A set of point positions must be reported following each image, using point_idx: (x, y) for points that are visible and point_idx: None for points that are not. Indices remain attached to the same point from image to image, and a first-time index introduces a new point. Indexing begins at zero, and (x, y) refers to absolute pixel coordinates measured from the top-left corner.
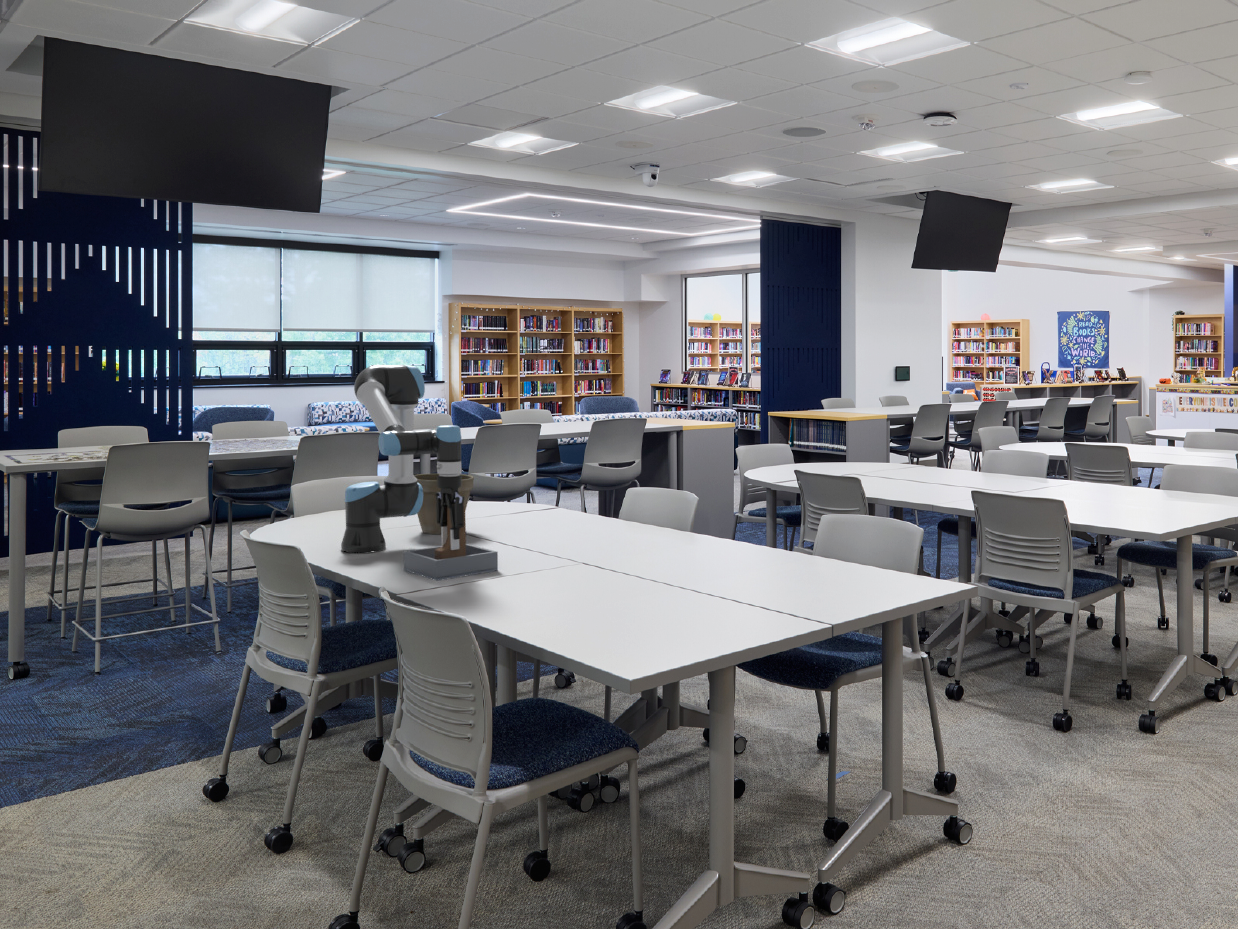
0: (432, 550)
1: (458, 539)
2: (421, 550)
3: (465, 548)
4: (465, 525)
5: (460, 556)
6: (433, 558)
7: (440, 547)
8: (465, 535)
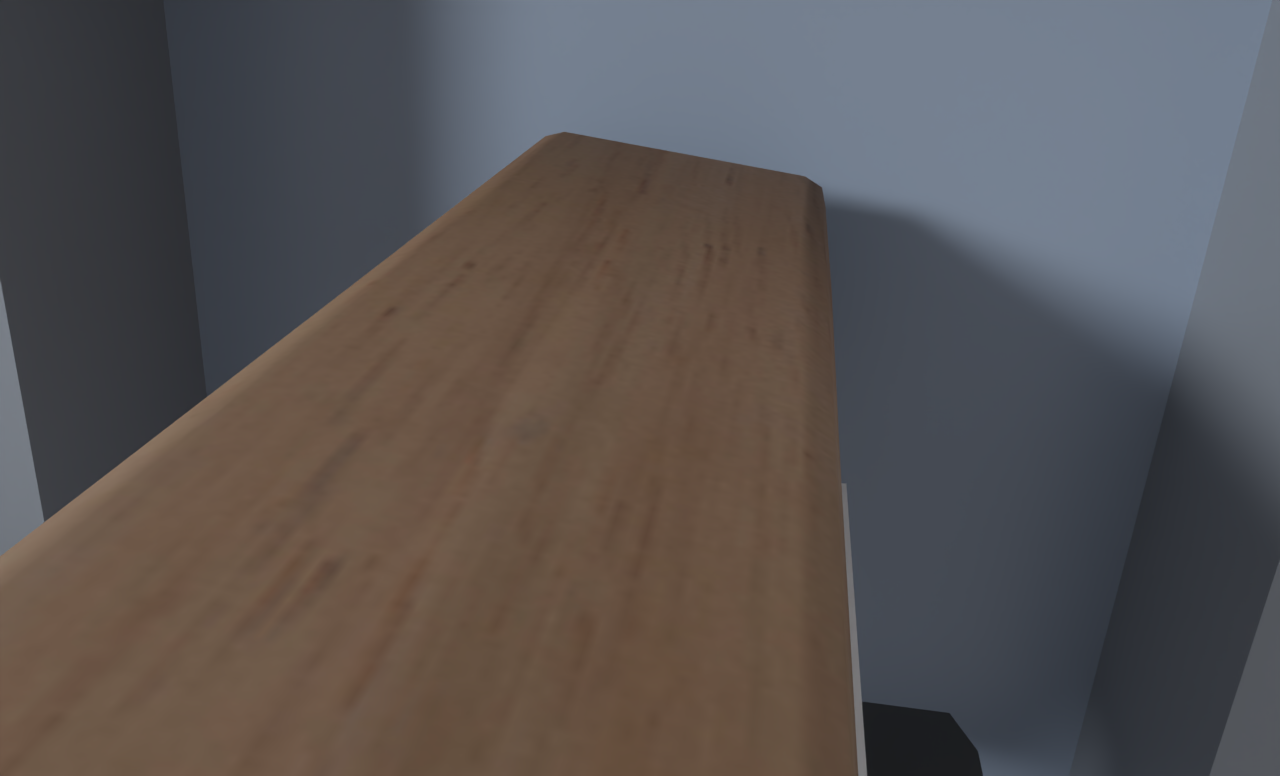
0: (74, 497)
1: (854, 653)
2: None
3: (829, 277)
4: (845, 629)
5: (1237, 702)
6: (160, 412)
7: (17, 336)
8: (831, 408)
